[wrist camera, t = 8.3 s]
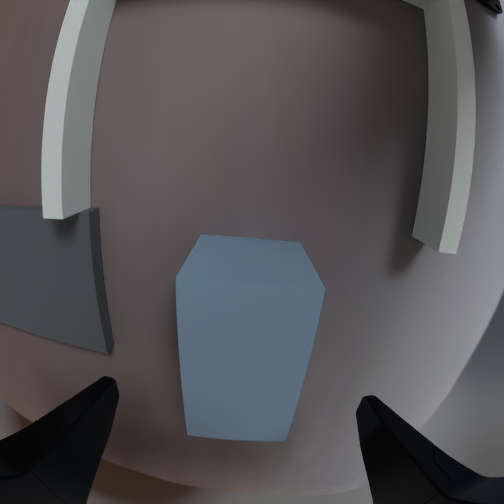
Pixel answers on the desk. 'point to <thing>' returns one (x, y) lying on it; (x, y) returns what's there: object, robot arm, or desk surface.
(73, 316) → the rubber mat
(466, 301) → the desk surface
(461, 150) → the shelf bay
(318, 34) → the desk surface
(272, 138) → the desk surface
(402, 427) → the robot arm
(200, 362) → the blank block
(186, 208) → the desk surface
